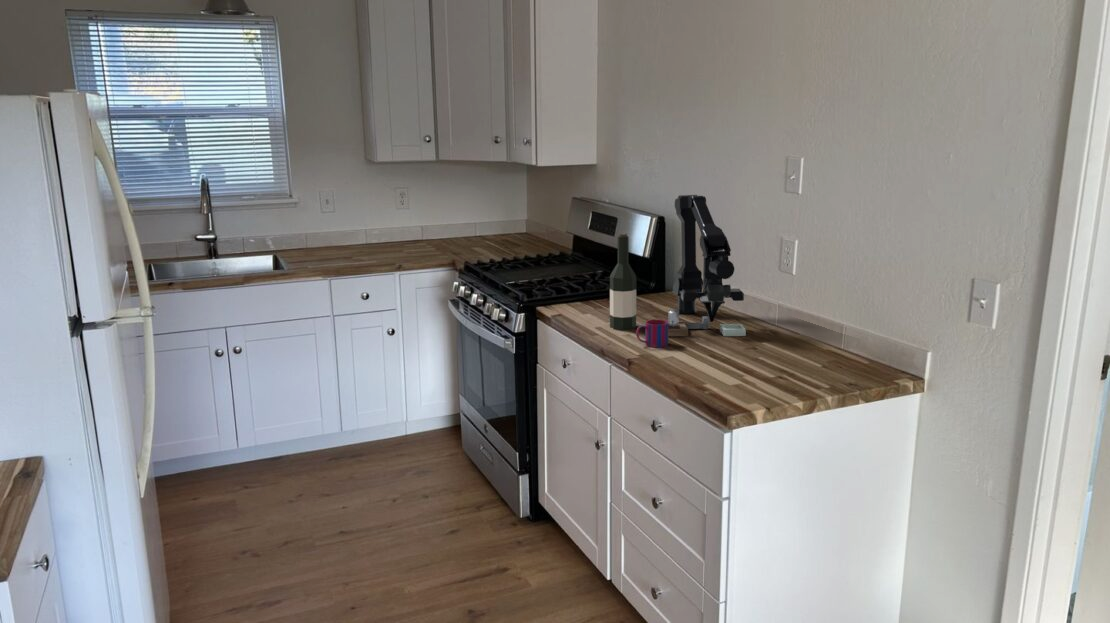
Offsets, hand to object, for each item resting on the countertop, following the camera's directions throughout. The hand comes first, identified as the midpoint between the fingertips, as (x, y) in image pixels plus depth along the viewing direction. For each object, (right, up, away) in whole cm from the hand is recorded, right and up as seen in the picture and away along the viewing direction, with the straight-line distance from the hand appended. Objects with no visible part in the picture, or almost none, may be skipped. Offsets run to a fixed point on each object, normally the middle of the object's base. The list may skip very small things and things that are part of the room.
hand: (711, 321), depth 257 cm
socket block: (-13, -3, -2) cm, 13 cm away
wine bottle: (-27, -2, +4) cm, 28 cm away
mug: (-21, -7, -16) cm, 27 cm away
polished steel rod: (-13, -4, -4) cm, 14 cm away
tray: (+5, -3, -5) cm, 8 cm away
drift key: (-8, -2, +1) cm, 8 cm away
